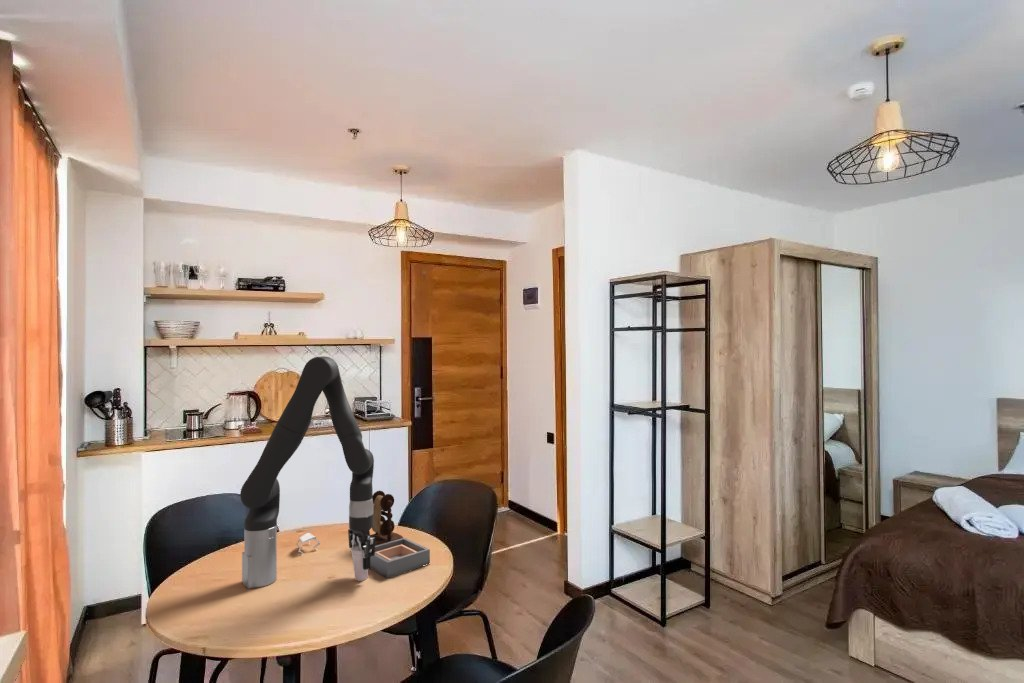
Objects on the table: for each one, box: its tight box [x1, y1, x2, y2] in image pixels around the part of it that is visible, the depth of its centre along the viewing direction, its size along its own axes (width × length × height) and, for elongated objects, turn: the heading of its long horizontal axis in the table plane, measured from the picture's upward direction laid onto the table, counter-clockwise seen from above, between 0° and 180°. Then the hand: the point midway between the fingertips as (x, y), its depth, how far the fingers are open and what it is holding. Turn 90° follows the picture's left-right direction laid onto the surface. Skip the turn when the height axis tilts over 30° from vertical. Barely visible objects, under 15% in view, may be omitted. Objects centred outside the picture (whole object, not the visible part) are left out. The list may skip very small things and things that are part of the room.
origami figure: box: [295, 532, 322, 556], centre depth 193 cm, size 12×8×5 cm
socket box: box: [369, 537, 431, 579], centre depth 179 cm, size 16×16×5 cm
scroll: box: [370, 490, 404, 546], centre depth 195 cm, size 15×15×20 cm
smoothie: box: [350, 545, 369, 582], centre depth 168 cm, size 6×6×14 cm
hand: (361, 565), depth 168 cm, fingers closed on smoothie, 6 cm apart
